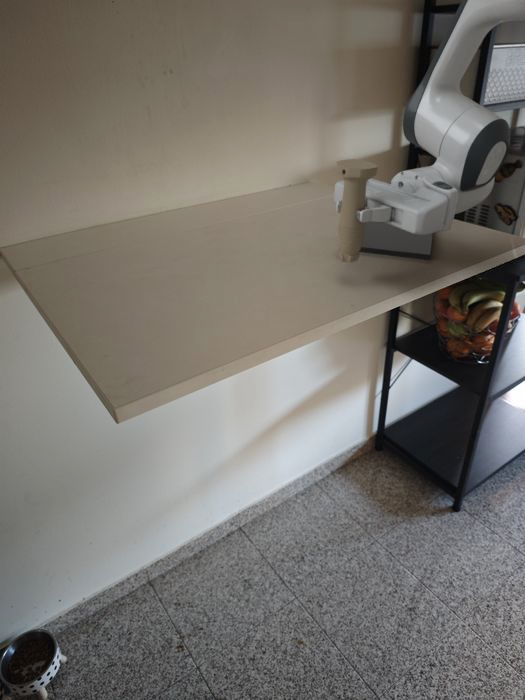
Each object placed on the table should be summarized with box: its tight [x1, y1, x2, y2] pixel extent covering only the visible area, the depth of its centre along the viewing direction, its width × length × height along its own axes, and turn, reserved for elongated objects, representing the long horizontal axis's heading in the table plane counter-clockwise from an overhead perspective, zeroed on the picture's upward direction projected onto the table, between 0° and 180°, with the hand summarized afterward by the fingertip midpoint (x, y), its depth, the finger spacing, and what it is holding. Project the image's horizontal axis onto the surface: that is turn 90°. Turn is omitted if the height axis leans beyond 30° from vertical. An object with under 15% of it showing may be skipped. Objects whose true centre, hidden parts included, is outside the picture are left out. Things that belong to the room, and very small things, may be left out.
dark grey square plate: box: [358, 221, 434, 261], centre depth 100 cm, size 16×18×1 cm
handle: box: [335, 158, 379, 264], centre depth 77 cm, size 5×6×15 cm
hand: (348, 212), depth 76 cm, fingers closed on handle, 3 cm apart
